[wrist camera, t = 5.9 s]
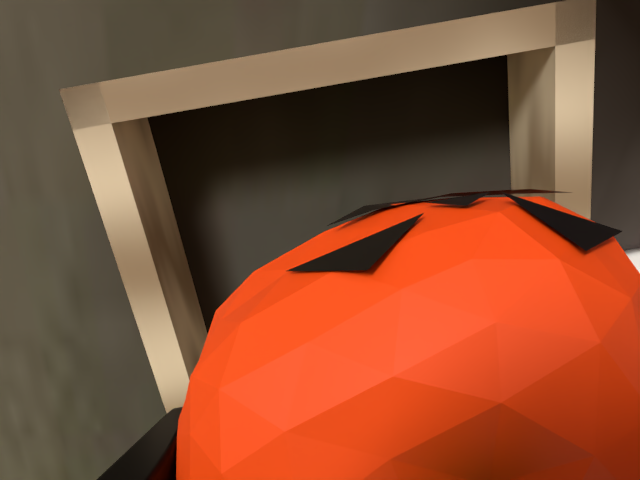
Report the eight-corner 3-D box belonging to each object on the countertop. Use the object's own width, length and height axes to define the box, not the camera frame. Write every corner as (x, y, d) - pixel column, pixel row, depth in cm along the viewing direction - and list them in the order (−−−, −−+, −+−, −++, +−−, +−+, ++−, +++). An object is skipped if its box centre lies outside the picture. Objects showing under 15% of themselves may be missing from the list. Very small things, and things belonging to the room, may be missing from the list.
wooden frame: (541, 305, 21) (587, 347, 18) (188, 363, 21) (168, 416, 18) (539, 11, 17) (596, -5, 14) (105, 86, 17) (59, 89, 14)
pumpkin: (148, 333, 10) (-165, 660, 4) (465, 101, 9) (769, 31, 3) (344, 561, 11) (346, 1098, 5) (653, 386, 10) (1188, 829, 4)
